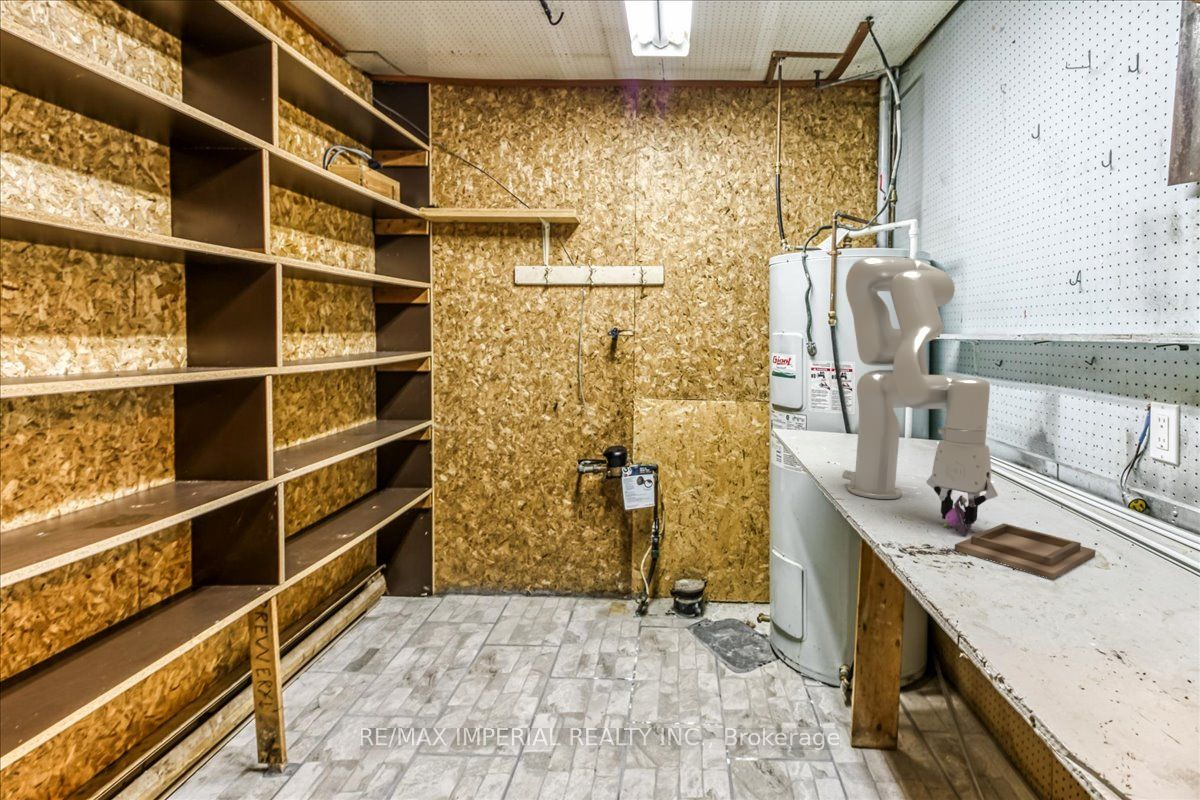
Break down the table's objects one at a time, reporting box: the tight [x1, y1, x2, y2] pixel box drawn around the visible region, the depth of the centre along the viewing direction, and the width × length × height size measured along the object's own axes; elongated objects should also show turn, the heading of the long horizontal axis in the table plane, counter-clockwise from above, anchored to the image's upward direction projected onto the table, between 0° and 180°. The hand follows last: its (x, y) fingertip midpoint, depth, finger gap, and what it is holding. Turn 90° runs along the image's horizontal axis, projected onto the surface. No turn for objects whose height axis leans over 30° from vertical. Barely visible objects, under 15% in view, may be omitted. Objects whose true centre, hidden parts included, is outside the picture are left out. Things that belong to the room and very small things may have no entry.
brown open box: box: [954, 523, 1096, 580], centre depth 114 cm, size 16×20×3 cm
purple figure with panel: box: [942, 494, 973, 537], centre depth 127 cm, size 7×5×9 cm
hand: (958, 520), depth 128 cm, fingers closed on purple figure with panel, 3 cm apart
